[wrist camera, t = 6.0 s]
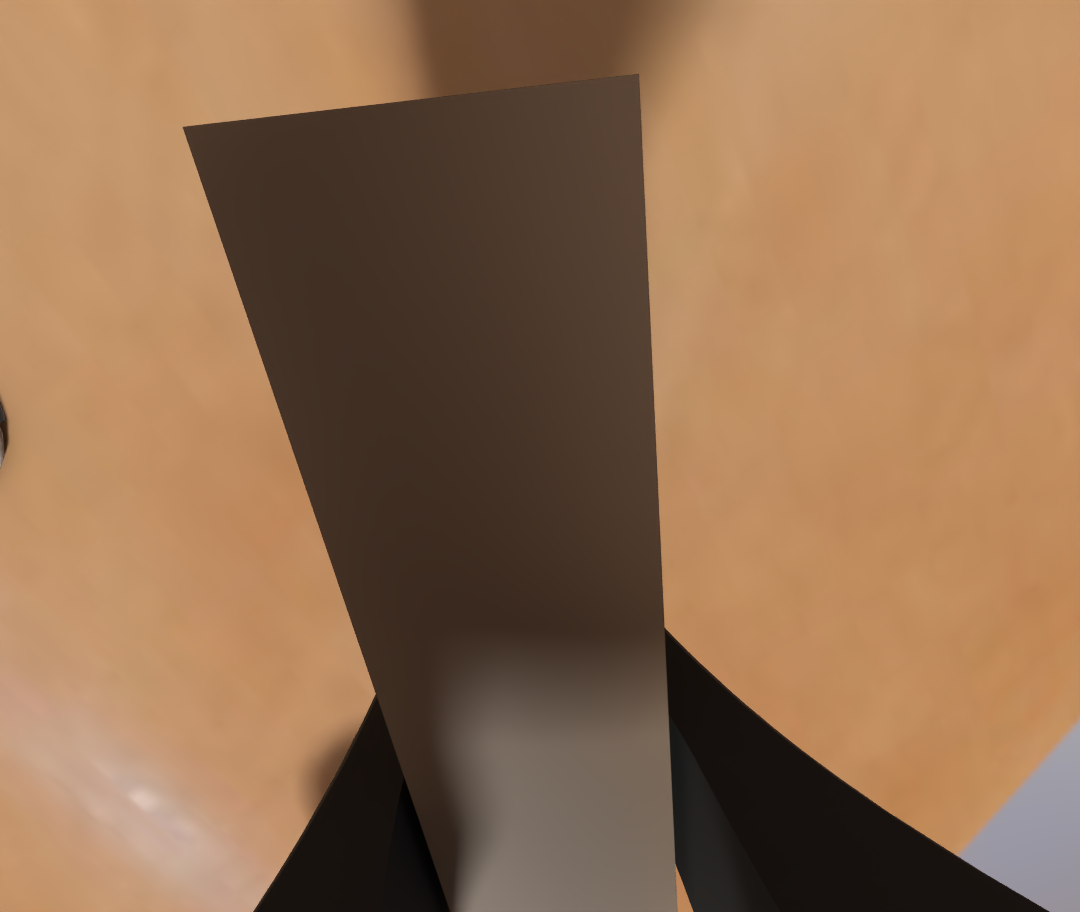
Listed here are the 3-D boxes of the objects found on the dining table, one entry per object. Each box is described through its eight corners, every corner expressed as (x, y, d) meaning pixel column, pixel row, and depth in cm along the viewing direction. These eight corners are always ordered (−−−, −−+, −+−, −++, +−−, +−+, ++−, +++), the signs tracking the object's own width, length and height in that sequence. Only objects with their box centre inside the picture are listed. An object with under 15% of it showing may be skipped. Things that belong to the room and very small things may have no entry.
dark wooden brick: (527, 175, 9) (639, 72, 4) (597, 742, 15) (683, 1044, 9) (351, 198, 9) (183, 127, 3) (489, 766, 14) (512, 1094, 9)
